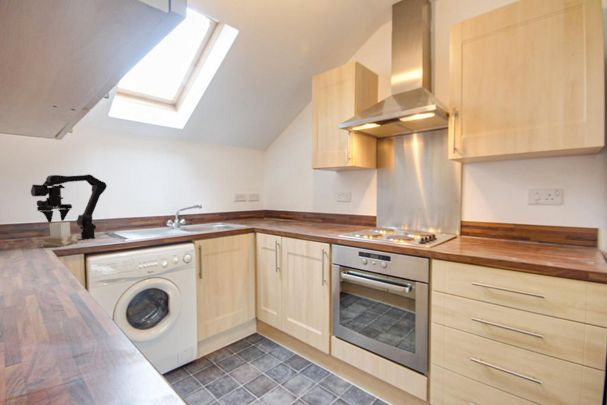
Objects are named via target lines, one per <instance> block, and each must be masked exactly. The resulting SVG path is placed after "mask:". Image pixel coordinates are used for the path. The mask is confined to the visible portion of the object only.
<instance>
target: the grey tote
mask: <svg viewBox="0 0 607 405" xmlns="http://www.w3.org/2000/svg"><path fill="white" fill-rule="evenodd" d="M70 236H71V223H70V221H62V222H61V221H58V222H57V221H56V222H49V238H50V239H62V238H67V237H70Z"/></svg>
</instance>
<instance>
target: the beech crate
mask: <svg viewBox="0 0 607 405" xmlns="http://www.w3.org/2000/svg"><path fill="white" fill-rule="evenodd" d="M78 241H79V240H78V235H70V237H67V238H62V239H50V237H47V238H42V245H43V247H44V248H48V247H49V248H50V246H63V247H67V246H71V245H75V244H78ZM66 245H67V246H66Z"/></svg>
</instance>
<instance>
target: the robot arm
mask: <svg viewBox="0 0 607 405" xmlns="http://www.w3.org/2000/svg"><path fill="white" fill-rule="evenodd" d="M45 179H46V180H45V181H44V182H43V184H32V185H31V189H30V195H31V196H32V197H46V196H48V197H46V198H45V199H46V200H42V199H41V200H37V201H36V206H37V207H36V208H37V209H36V210H37V211H38V212H39V213H41V214H43V215H44V216H45V218H46V220H47V222H48V223H52V219H53V214H54V210H55V209H56V210H57V211H58V212H60V214H59V215H60V220H61V221H62V222H64V220H65V218H66V216H67V215H68V213H69V211H71V209H73V205H72V204H71V203H62V200H63V199H64V196H63V197H62V195H61V194H62V191H61V190H62V189H66V187H65V186H63V184H67V183H71V182H72V183H73V182H83V181H86V182H87V183H88V184H89V185H90V186H91V195H90V196H89V199H88V202H87V205H86V206H85V209H84V212H83V213H82V214H78V216H77V219H76V220H75V221H76V225H77V226H78V227H79V228H80V230H81V231H80V238H81V239H82V240H91V239H96V236H95V230H96V228H97V225H95V224H94V223H93V214H94V211H95V209H96V206H97V203H98V202H99V199H100V197H101V195H102V194H104V192H105V191H106V189H107V186H108V185H107V184H106V182H105V181H102V180H100V179H99V178H96V177H95V176H93V175H92V174H82V175H80V174H79V175H60V174H53V175H48V176H47V177H46V178H45ZM61 221H60V222H61Z"/></svg>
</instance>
